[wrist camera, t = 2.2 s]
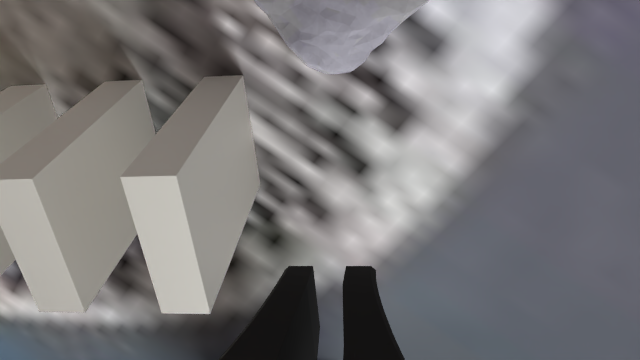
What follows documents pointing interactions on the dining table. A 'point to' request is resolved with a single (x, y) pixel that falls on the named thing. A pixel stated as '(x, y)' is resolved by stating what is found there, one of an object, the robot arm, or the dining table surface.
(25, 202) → the domino
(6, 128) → the domino
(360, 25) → the stone block
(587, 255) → the dining table surface
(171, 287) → the domino
